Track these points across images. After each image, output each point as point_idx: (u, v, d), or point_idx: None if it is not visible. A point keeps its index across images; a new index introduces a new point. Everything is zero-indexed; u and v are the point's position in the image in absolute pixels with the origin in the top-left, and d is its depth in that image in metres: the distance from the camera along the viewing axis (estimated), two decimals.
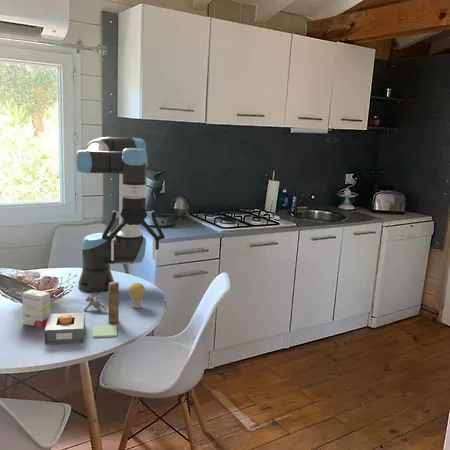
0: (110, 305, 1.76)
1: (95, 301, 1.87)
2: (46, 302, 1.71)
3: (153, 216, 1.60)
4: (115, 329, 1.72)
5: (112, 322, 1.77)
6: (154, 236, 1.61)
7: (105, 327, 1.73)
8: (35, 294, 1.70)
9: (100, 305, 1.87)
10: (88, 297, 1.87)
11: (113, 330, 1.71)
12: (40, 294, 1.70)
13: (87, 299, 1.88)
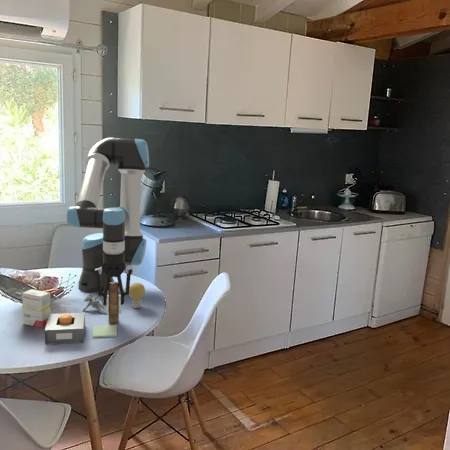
0: (110, 305, 1.76)
1: (94, 301, 1.87)
2: (46, 302, 1.71)
3: (129, 273, 1.75)
4: (115, 329, 1.72)
5: (112, 322, 1.77)
6: (121, 292, 1.76)
7: (105, 327, 1.73)
8: (35, 294, 1.70)
9: (99, 305, 1.87)
10: (87, 297, 1.87)
11: (113, 330, 1.71)
12: (40, 294, 1.70)
13: (86, 299, 1.88)
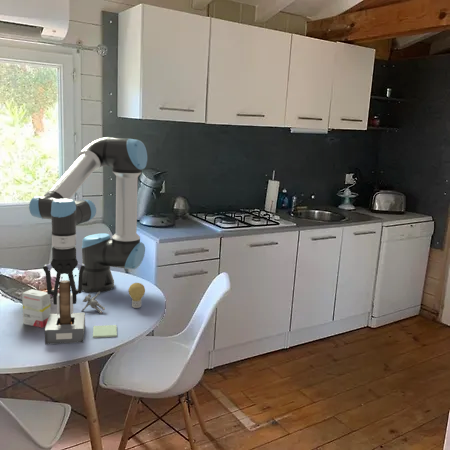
0: (61, 306, 1.63)
1: (92, 301, 1.87)
2: (46, 302, 1.71)
3: (81, 269, 1.62)
4: (115, 329, 1.72)
5: (63, 324, 1.64)
6: (73, 290, 1.63)
7: (105, 327, 1.73)
8: (35, 294, 1.70)
9: (98, 305, 1.87)
10: (85, 297, 1.87)
11: (113, 330, 1.71)
12: (40, 294, 1.70)
13: (84, 299, 1.87)
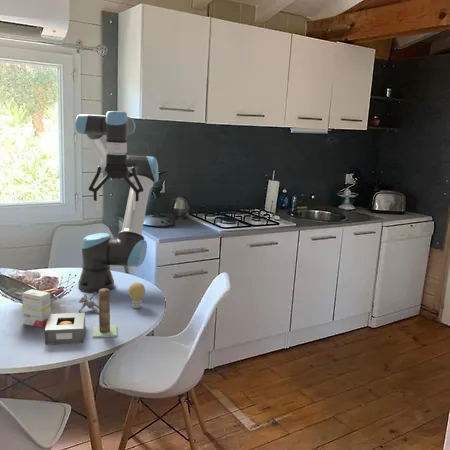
0: (101, 313, 1.67)
1: (89, 301, 1.86)
2: (46, 302, 1.71)
3: (133, 171, 1.83)
4: (115, 329, 1.72)
5: (103, 331, 1.69)
6: (134, 189, 1.85)
7: None
8: (35, 294, 1.70)
9: (95, 305, 1.86)
10: (82, 298, 1.86)
11: (113, 330, 1.71)
12: (40, 294, 1.70)
13: (81, 300, 1.87)
